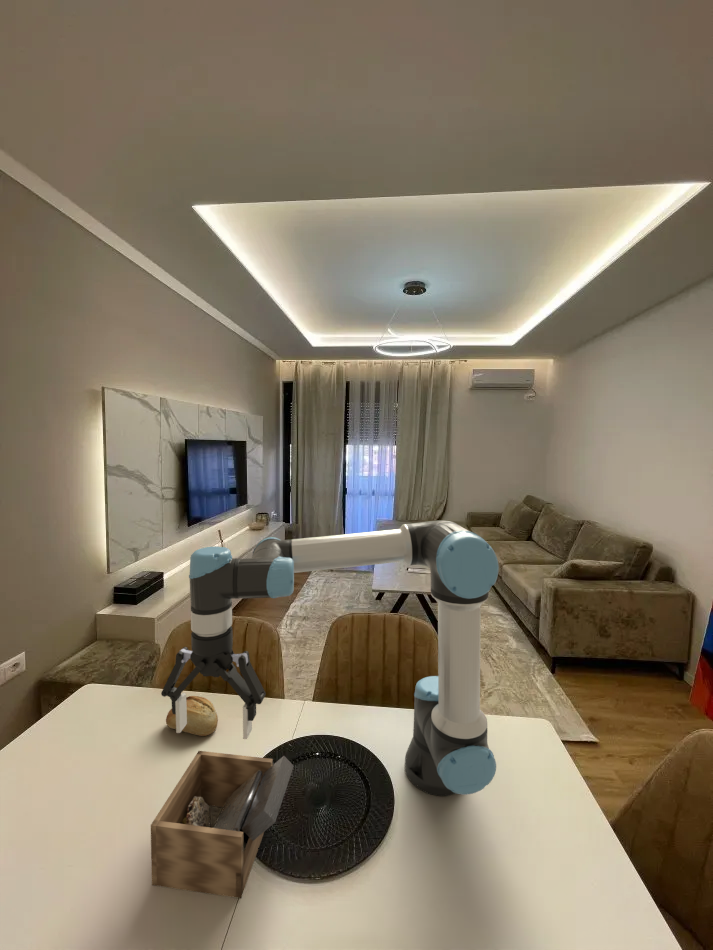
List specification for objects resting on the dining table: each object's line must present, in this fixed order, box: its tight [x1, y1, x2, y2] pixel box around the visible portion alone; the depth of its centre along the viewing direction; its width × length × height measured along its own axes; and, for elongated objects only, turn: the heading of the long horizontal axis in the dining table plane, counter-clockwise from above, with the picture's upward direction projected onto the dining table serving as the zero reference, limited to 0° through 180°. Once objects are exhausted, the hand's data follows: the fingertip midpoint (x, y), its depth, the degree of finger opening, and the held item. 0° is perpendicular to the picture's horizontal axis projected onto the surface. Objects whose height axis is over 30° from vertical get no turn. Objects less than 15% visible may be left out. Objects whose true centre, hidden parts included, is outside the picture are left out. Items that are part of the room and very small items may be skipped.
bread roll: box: [165, 695, 219, 737], centre depth 116 cm, size 10×15×8 cm, turn 80°
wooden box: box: [150, 750, 274, 899], centre depth 84 cm, size 17×18×12 cm
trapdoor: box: [212, 755, 295, 841], centre depth 83 cm, size 17×14×4 cm
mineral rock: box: [182, 796, 211, 827], centre depth 84 cm, size 11×4×8 cm
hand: (214, 731), depth 82 cm, fingers open, 13 cm apart
